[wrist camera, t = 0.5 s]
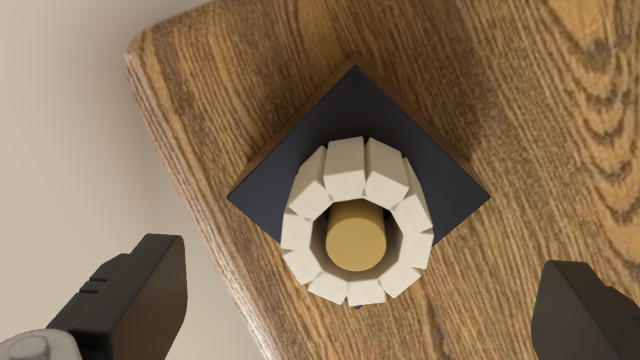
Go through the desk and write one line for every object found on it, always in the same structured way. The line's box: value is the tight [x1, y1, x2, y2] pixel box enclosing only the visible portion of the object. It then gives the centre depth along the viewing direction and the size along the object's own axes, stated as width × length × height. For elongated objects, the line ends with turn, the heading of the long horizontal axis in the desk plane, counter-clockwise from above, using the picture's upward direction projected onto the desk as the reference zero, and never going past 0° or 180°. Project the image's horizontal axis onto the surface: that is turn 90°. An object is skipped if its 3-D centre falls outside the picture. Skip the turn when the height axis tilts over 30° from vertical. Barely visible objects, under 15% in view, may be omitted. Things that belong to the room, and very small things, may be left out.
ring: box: [280, 137, 434, 306], centre depth 23 cm, size 6×6×4 cm
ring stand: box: [226, 50, 491, 309], centre depth 25 cm, size 9×9×10 cm
